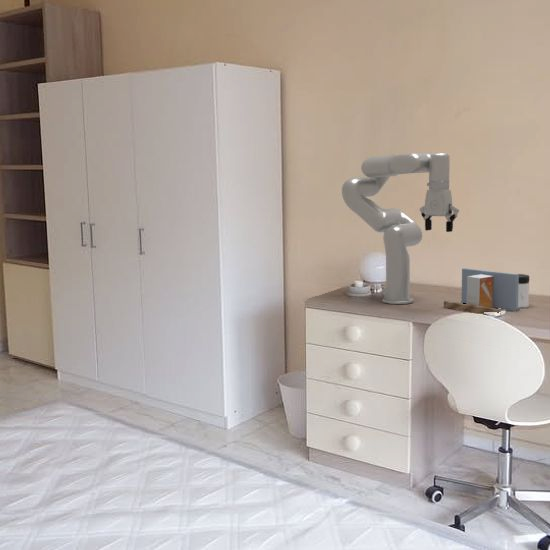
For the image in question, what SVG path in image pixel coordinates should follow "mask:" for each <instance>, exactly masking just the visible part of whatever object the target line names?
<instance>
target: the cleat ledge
mask: <svg viewBox="0 0 550 550" xmlns="http://www.w3.org/2000/svg"><path fill="white" fill-rule="evenodd" d="M444 307H446V308H445V309H448V308H452V309H451V310H454V309H458V310H457V311H460V310H463V311H462V312H466V311H468V312H469V313H474V314H479V313H484V312H497V313H499V312H501V311H502V309H495V308H488V307H482V306H476V305H469V304H463V303H461V302H455V301H449V300H444V301H443V308H444Z"/></svg>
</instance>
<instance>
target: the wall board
mask: <svg viewBox="0 0 550 550" xmlns="http://www.w3.org/2000/svg"><path fill="white" fill-rule="evenodd" d="M480 274H483V275H490V276H493V308H501V310H502V309H506V310H505V311H508V310H510V311H511V312H515V311H516V312H518V310H519V311H520V309H521V308H518V287H519V274H520V273H509V272H501V271H490V270H482V269H475V268H474V269H473V268H463V267H462V269H461V302H460V303H466V304H467V277H468V276H473V275H480Z"/></svg>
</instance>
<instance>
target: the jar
mask: <svg viewBox="0 0 550 550" xmlns="http://www.w3.org/2000/svg"><path fill="white" fill-rule="evenodd" d="M518 274H519V287H518V308H520V309H522V308H523V307H524V308H529V299H530V297H529V295H530V293H529V292H530V291H529V290H530V276H529V275H528V274H524V273H518ZM524 308H523V309H524Z"/></svg>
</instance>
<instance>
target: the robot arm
mask: <svg viewBox="0 0 550 550" xmlns="http://www.w3.org/2000/svg"><path fill="white" fill-rule="evenodd" d="M450 160H451V159H450V155H449V153H446V152H435V153H432V152H416V153H404V154H403V153H402V154H389V155H381V156H380V155H379V156H371V157H368V158H366V159H364V160H363V161H362V163H361V167H360V169H361V172H362V174H363V175H364V176H358V177H356V176H355V177H350V178H348V179H346V180H345V181H344V182H343V184H342V188H341V195H342V198H343V201H344V203H345V205H346V207H348V209H350V210H351V211H352V212H354V214H356V215H357V216H358V217H359V218H360V219H362V220H363V222H365V223H366V224H367V225H368V226H369V227H370V228H372V230H374V231H375V232H376V233H383V237H382V238H383V244H384V249H385V289H384V288H383V289H381V291H379V295H383V297H382V301H381V302H383V303H385V304H390V305H391V304H392V305H408V304H411V303H414V298H413V297H411V296H410V285H411V284H410V282H411V281H410V277H411V276H410V273H411V271H410V270H411V269H410V267H411V265H410V255H409V251H408V249H407V248H409V247H414V246H417V245H418V244H420V243H421V241H422V240H423V231H422V229H421V227H420V226H419V225H418V223H416V222H415V221H414V220H413V219H411V218H410V217H409V216H408V215H407V214H405V213H404V212H403V211H401V210H400V209H397V208H382V207H380V206H379V205H377V203H376V202H375V201H373V200H371V199H370V198H368V197H374V196H375V195H377V194H379V192H380V191H381V190H382V188H383V187H384V186H385V184H386V183H387V182H388V180H389V179H390V177H397V176H398V175H407V174H409V175H410V174H422V173H423V174H424V173H428V182H427V183H426V186H427V187H428V189H427V190H426V193H425V199H424V205H423V206H421V207H419V212H420V214H421V217H422V218H423V220H424V228H425V229H424V230H425V231H432V229H433V228H432V225H433V223H432V222H433V221H432V219H431V218H432V217H445V219H446V220H447V221H445V232H446V233H451V232H453V229H454V221H455V219H456V218H457V217H458V214H459V211H460V210H459V209H458V208H457V207H455V206H454V205H453V197H452V189H450V164H451V163H450V162H451V161H450Z"/></svg>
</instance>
